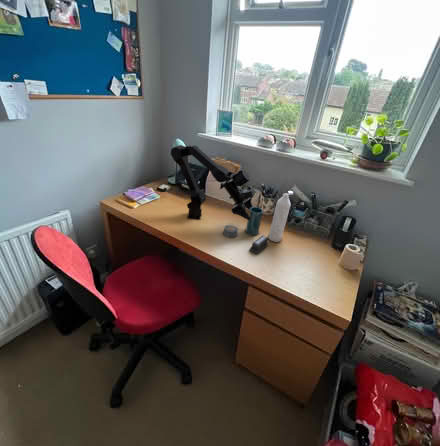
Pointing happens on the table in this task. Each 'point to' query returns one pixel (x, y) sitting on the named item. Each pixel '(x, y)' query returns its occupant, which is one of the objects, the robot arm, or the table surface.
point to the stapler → (259, 244)
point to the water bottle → (280, 217)
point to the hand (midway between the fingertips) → (251, 215)
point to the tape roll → (230, 231)
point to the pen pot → (254, 220)
